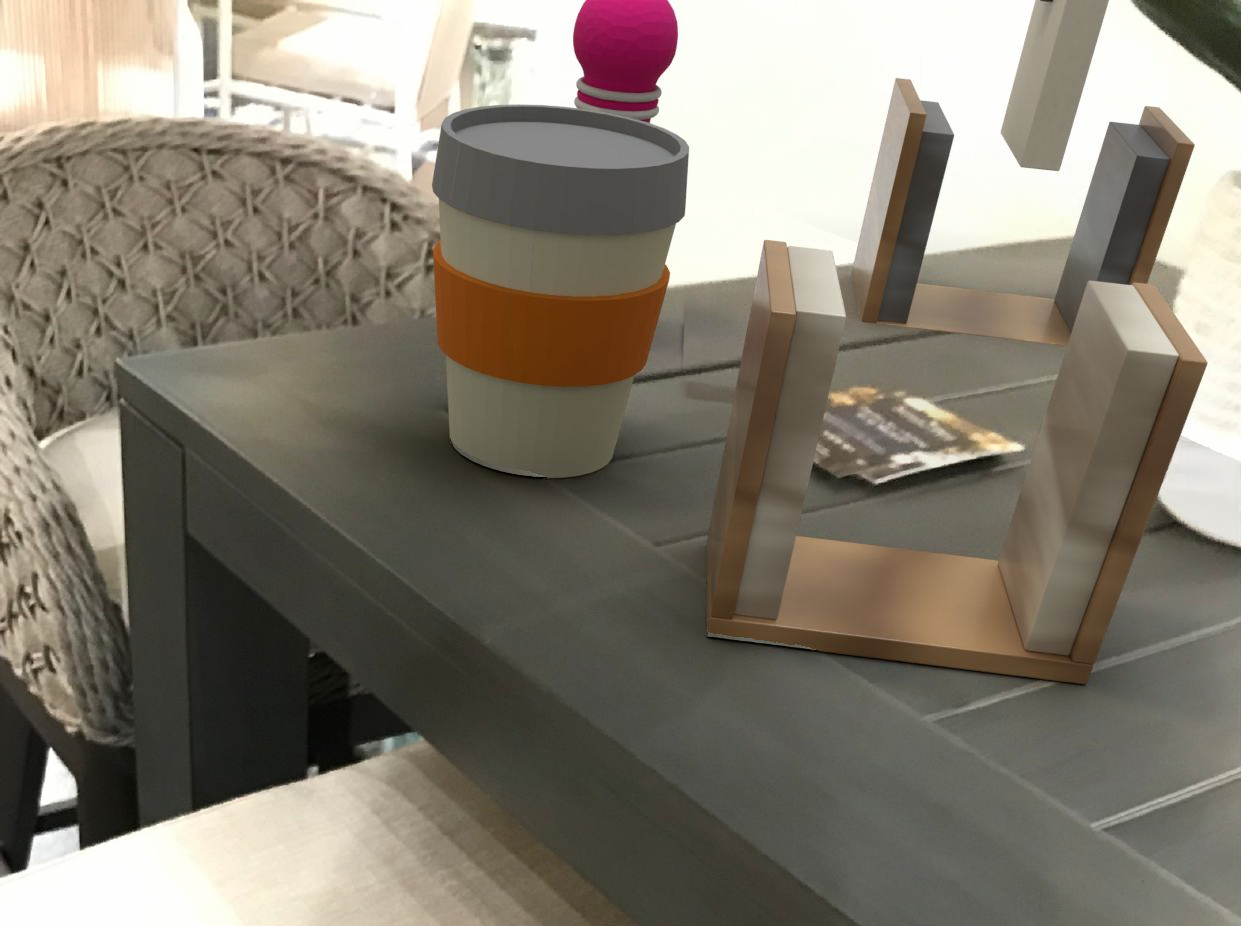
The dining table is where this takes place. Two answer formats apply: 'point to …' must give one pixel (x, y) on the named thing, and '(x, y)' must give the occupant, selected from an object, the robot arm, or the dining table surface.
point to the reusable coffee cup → (550, 276)
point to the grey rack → (1101, 248)
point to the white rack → (932, 582)
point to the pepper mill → (623, 55)
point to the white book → (1051, 80)
